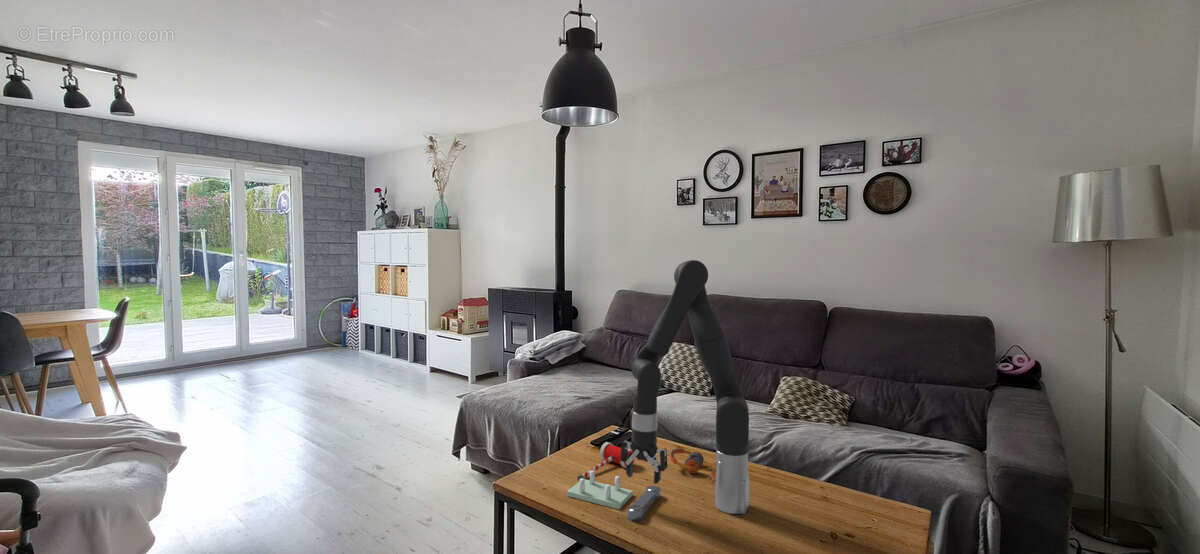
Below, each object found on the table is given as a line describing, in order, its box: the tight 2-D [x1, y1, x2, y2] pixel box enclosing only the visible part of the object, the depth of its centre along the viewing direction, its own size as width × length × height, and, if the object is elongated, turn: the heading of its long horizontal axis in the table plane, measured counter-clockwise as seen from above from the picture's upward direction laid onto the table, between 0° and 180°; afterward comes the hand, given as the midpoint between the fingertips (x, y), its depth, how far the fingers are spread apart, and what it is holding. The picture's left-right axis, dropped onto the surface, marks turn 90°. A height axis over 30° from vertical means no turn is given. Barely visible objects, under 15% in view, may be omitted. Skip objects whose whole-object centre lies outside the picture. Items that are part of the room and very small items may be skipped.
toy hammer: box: [576, 441, 636, 482], centre depth 179 cm, size 23×12×6 cm, turn 138°
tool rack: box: [566, 470, 634, 510], centre depth 160 cm, size 18×10×6 cm, turn 62°
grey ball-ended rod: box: [626, 485, 661, 523], centre depth 153 cm, size 18×4×3 cm, turn 152°
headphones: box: [669, 448, 716, 482], centre depth 179 cm, size 17×5×20 cm
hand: (643, 479), depth 153 cm, fingers open, 8 cm apart
